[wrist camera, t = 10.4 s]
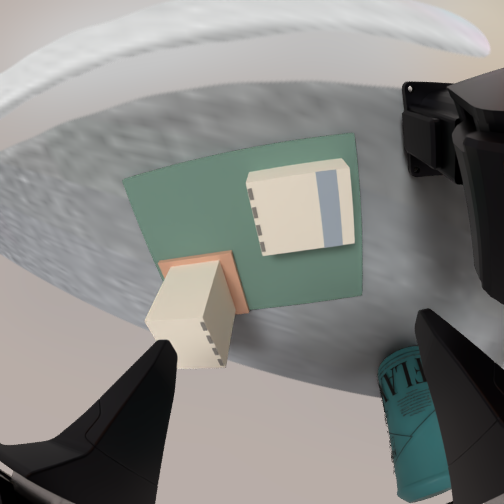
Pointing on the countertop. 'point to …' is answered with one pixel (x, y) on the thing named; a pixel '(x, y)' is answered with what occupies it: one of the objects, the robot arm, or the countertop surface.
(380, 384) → the beverage bottle
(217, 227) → the mat
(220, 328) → the stub
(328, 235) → the spiral notebook
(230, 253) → the coaster
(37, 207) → the countertop surface
